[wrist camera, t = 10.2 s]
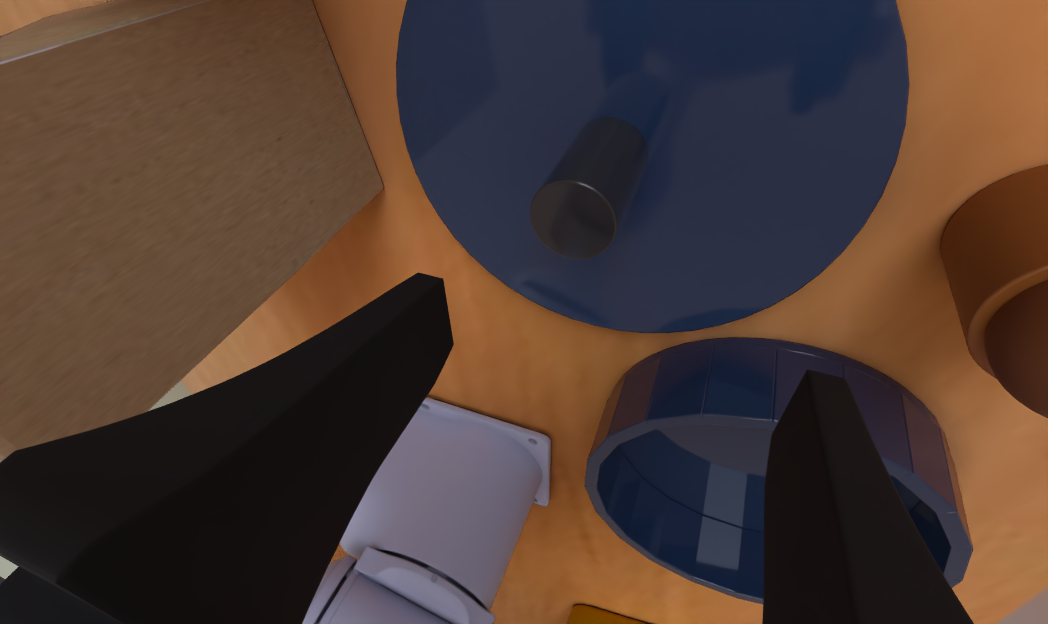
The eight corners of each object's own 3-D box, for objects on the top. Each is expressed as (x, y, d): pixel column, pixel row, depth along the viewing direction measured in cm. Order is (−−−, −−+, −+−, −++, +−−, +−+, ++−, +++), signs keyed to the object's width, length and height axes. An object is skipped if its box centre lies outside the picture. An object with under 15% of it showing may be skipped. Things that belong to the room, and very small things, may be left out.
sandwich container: (36, 11, 23) (-557, 170, 13) (296, -43, 17) (-423, 174, 7) (157, 188, 29) (-197, 396, 19) (387, 193, 23) (50, 505, 13)
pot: (597, 477, 32) (577, 540, 29) (623, 301, 22) (596, 371, 19) (861, 564, 28) (866, 646, 25) (1037, 398, 18) (1078, 504, 15)
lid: (441, 270, 25) (382, 346, 21) (368, -172, 14) (228, -164, 11) (792, 354, 20) (788, 466, 17) (1057, -188, 10) (1187, -182, 6)
